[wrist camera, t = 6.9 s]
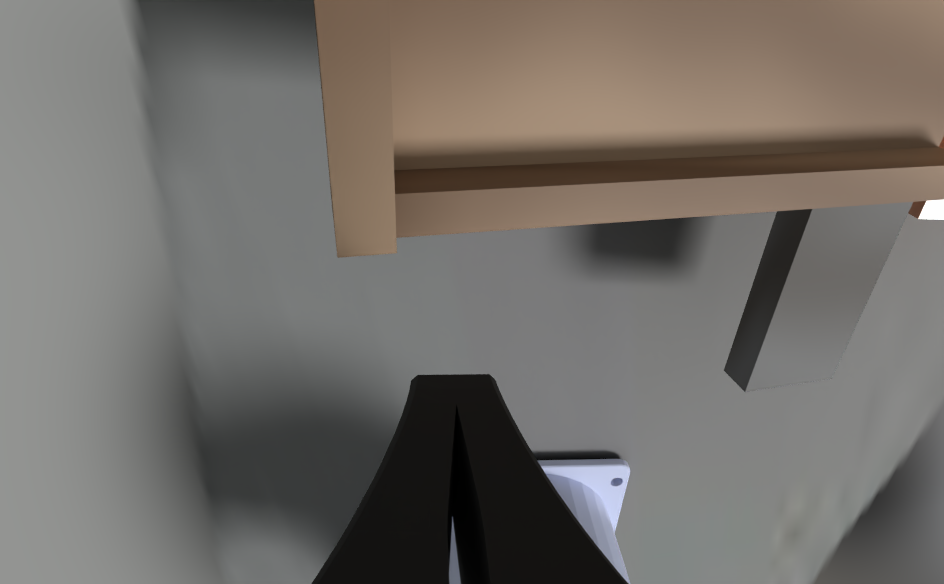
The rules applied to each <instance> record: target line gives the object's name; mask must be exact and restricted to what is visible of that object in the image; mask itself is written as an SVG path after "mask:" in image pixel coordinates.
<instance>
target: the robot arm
mask: <svg viewBox="0 0 944 584" xmlns="http://www.w3.org/2000/svg"><path fill="white" fill-rule="evenodd" d="M629 475H630V468H629V465H628V463H627V462H626V461H625V460H623V459H584V460H537V459H536V458H535V456H534V454H533V453H532V451H531V450H530V448H529V446H528V445H527V443H526V441H525V440H524V438H523V436H522V434H521V433H520V431H519V429H518V427H517V425H516V423H515V421H514V420H513V418H512V416H511V414H510V412H509V410H508V408H507V406H506V404H505V402H504V400H503V398H502V395H501V393H500V391H499V388H498V386H497V383H496V381H495V379H494V378H493V377H492V376H491V375H489V374H476V375H417V376H416V377H415V378H414V379H412V380H411V385H410V390H409V394H408V398H407V401H406V405H405V408H404V411H403V414H402V416H401V419H400V421H399V424H398V427H397V429H396V432H395V434H394V437H393V439H392V441H391V443H390V445H389V448H388V450H387V452H386V454H385V456H384V459H383V461H382V463H381V465H380V467H379V469H378V471H377V473H376V475H375V477H374V479H373V481H372V483H371V485H370V487H369V489H368V490H367V492H366V494H365V496H364V498H363V500H362V502H361V503H360V505H359V507H358V509H357V511H356V513H355V515H354V516H353V518H352V520H351V522H350V523H349V525H348V527H347V528H346V530H345V532H344V533H343V535H342V537H341V539H340V540H339V542H338V543H337V545H336V547H335V548H334V550H333V552H332V553H331V555H330V556H329V558H328V559H327V561H326V562H325V564H324V565H323V567H322V569H321V570H320V572H319V573H318V575H317V576H316V578H315V579H314V581H313V582H312V584H630V581H629V578H628V575H627V571H626V568H625V565H624V562H623V559H622V555H621V552H620V549H619V546H618V543H617V540H616V536H615V529H616V525H617V521H618V517H619V514H620V510H621V506H622V502H623V498H624V494H625V490H626V486H627V483H628V479H629ZM614 478H615V479H614Z"/></svg>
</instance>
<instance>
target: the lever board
mask: <svg viewBox="0 0 944 584" xmlns="http://www.w3.org/2000/svg"><path fill="white" fill-rule="evenodd" d="M314 11H315V22H316V33H317V44H318V55H319V66H320V77H321V88H322V99H323V110H324V121H325V132H326V143H327V154H328V165H329V176H330V187H331V198H332V209H333V218H334V228H335V237H336V247H337V257H338V258H339V257H352V256H365V255H379V254H392V253H397V245H396V238H398V237H413V236H427V235H441V234H456V233H470V232H485V231H499V230H514V229H528V228H542V227H557V226H571V225H586V224H600V223H615V222H629V221H644V220H658V219H672V218H687V217H701V216H716V215H730V214H745V213H759V212H774V211H777V213H776V216H775V219H774V222H773V225H772V228H771V231H770V234H769V237H768V240H767V243H766V246H765V249H764V252H763V255H762V258H761V261H760V264H759V267H758V270H757V273H756V276H755V279H754V282H753V285H752V288H751V291H750V294H749V297H748V300H747V303H746V306H745V309H744V312H743V315H742V318H741V321H740V324H739V327H738V330H737V333H736V336H735V339H734V342H733V345H732V348H731V351H730V354H729V357H728V360H727V363H726V366H725V369H724V371H725V372H726V373H727V374H728V375H729V376H730V377H731V378H732V379H733V380H734V381H735V382H736V383H737V384H738V385H739V386H740V387H741V388H742V389H743V390H744V391H745V392H749V391H756V390H762V389H769V388H775V387H782V386H789V385H795V384H802V383H808V382H815V381H822V380H828V379H832V377H833V375H834V373H835V371H836V369H837V366H838V364H839V362H840V360H841V358H842V356H843V353H844V351H845V349H846V347H847V345H848V343H849V340H850V338H851V336H852V334H853V332H854V330H855V327H856V325H857V323H858V321H859V319H860V317H861V314H862V312H863V310H864V308H865V306H866V304H867V301H868V299H869V297H870V295H871V293H872V291H873V288H874V286H875V284H876V282H877V280H878V278H879V275H880V273H881V271H882V269H883V267H884V265H885V262H886V260H887V258H888V256H889V254H890V252H891V249H892V247H893V245H894V243H895V241H896V238H897V236H898V234H899V232H900V230H901V228H902V225H903V223H904V221H905V219H906V217H907V215H908V212H909V210H910V208H911V206H912V204H913V202H918V201H932V200H944V149H943V148H940V147H939V145H940V143H941V141H942V139H943V137H944V0H314Z"/></svg>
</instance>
